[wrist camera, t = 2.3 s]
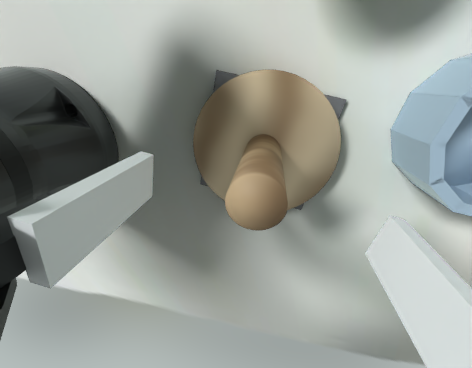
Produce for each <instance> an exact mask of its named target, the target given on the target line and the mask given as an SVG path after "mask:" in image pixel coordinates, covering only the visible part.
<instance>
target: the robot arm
mask: <svg viewBox="0 0 472 368" xmlns="http://www.w3.org/2000/svg"><path fill="white" fill-rule="evenodd" d="M153 160H154V155H153V154H150V153H146V152H142V151H140V152H138V153H136V154H134V155H132V156H130V157H128V158H126V159H124V160H122V161H120V162H118V150H117V144H116V140H115V137H114V134H113V131H112V128H111V126H110V124H109V122H108V120H107V118H106V117H105V115H104V113H103V112H102V110H101V109H100V108H99V106H98V105H97V104H96V102H95V101H94V100H93V99H92V98H91V97H90V96H89V95H88V94H87V93H86V92H85V91H84V90H83V89H82V88H81V87H80V86H78V85H77V84H76V83H74V82H73V81H71V80H70V79H68V78H67V77H65V76H63V75H61V74H59V73H56V72H54V71H51V70H47V69H43V68H33V67H17V66H13V67H3V68H0V340H1V336H2V333H3V329H4V326H5V323H6V320H7V316H8V313H9V310H10V307H11V303H12V300H13V297H14V293H15V290H16V286H17V280H16V277H17V276H18V275H20V274H21V273H22V272H24V271H25V270H26V272H27V275H28V278H29V281H30V282H31V283H34V284H38V285H41V286H44V287H48V288H52V287H53V286H54V285H55V284H56V283H57V282H58V281H59V280H61V279H62V278H63V277H64V276H65V275H66V274H67V273H68V272H69V271H70V270H72V269H73V268H74V267H75V266H76V265H77V264H78V263H79V262H80V261H82V260H83V259H84V258H85V257H86V256H87V255H88V254H89V253H90V252H91V251H93V250H94V249H95V248H96V247H97V246H98V245H99V244H100V243H101V242H102V241H104V240H105V239H106V238H107V237H108V236H109V235H110V234H111V233H112V232H114V231H115V230H116V229H117V228H118V227H119V226H120V225H121V224H122V223H123V222H125V221H126V220H127V219H128V218H129V217H130V216H131V215H132V214H133V213H135V212H136V211H137V210H138V209H139V208H140V207H141V206H142V205H143V204H144V203H146V202H147V201H148V200H149V199H150V198H151V197H152V196H153ZM365 255H366V256H367V258H368V260H369V262H370V264H371V266H372V268H373V269H374V271H375V273H376V275H377V277H378V279H379V281H380V282H381V284H382V286H383V288H384V290H385V292H386V294H387V295H388V297H389V299H390V301H391V303H392V305H393V307H394V308H395V310H396V312H397V314H398V316H399V318H400V320H401V321H402V323H403V325H404V327H405V329H406V331H407V332H408V334H409V336H410V338H411V340H412V342H413V344H414V345H415V347H416V349H417V351H418V353H419V355H420V357H421V358H422V360H423V362H424V364H425V366H426V368H472V288H471V287H470V286H469V285H468V284H467V283H466V282H465V281H464V280H463V279H462V278H461V276H460V275H459V274H458V273H457V272H456V271H455V270H454V269H453V268H452V267H451V266H450V265H449V264H448V263H447V262H446V261H445V260H444V259H443V258H442V257H441V256H440V255H439V254H438V253H437V252H436V251H435V250H434V249H433V248H432V247H431V246H430V245H429V244H428V243H427V242H426V241H425V240H424V239H423V238H422V236H421V235H420V234H419V233H418V232H417V231H416V230H415V229H414V228H413V227H412V226H411V225H410V224H409V223H408V222H407V221H406V220H405V219H402V218H398V217H394V216H389V217H388V219H387V220H386V222H385V223H384V225H383V227H382V228H381V230H380V231H379V233H378V234H377V236H376V237H375V239H374V240H373V242H372V243H371V245H370V247H369V248H368V250H367V251H366V253H365Z"/></svg>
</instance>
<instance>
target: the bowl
mask: <svg viewBox="0 0 472 368" xmlns="http://www.w3.org/2000/svg"><path fill="white" fill-rule="evenodd" d="M391 146H392V162H393V163H394V164H395V165H396V166H397V167H398V168H399V169H400V170H401V172H402V173H403V174H404V175H405V176H406V177H407V178H408V179H409V180H410V181H411V183H413V184H414V185H415V186H417V187H418V188H420V189H421V190H423V191H424V192H425V193H427V194H428V195H430V196H431V197H432V198H434V199H435V200H437V201H438V202H439V203H441V204H442V205H444V206H445V207H447V208H448V209H449V210H451V211H452V212H456V213H460V214H464V215H468V216H472V54H469V55H466V56H463V57H459V58H456V59H453V60H450V61H449V62H448V63H447V64H445V65H444V66H443V67H442V68H440V69H439V70H438V71H437V72H435V73H434V74H433V75H432V76H431V77H429V78H428V79H427V80H426V81H424V82H423V83H422V84H421V85H419V86H418V87H417V88H416V89H415V90H413V91H412V92H411V93H410V95H409V96H408V98H407V100H406V102H405V104H404V106H403V108H402V109H401V111H400V113H399V115H398V117H397V119H396V121H395V123H394V124H393V126H392V128H391Z"/></svg>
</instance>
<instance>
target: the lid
mask: <svg viewBox="0 0 472 368" xmlns="http://www.w3.org/2000/svg"><path fill="white" fill-rule="evenodd" d="M193 147H194V155H195V160H196V163H197V166H198V169H199V171H200V173H201V175H202V177H203V179H204V180H205V182H206V183H207V185H208V186H209V187H210V188H211V190H212V191H213V192H214V193H216V194H217V195H218V196H219V197H220V198H222V199H223V200H224V201H225V206H226V210H227V212H228V214H229V216H230V217H231V218H232V220H233V221H234V222H236V223H237V224H238V225H240V226H242V227H244V228H247V229H251V230H265V229H269V228H272V227H274V226H275V225H277V224H278V223H280V222H281V221H282V219H283V218H284V217H285V215H286V212H287V210H289V209H292V208H295V207H297V206H299V205H301V204H303V203H305V202H306V201H308V200H309V199H311V198H312V197H313V196H315V195H316V194H317V193H318V192H319V191H320V190H321V189H322V188H323V187H324V186H325V184H326V183H327V182H328V180H329V179H330V177H331V175H332V173H333V172H334V170H335V167H336V164H337V162H338V158H339V154H340V147H341V133H340V127H339V122H338V119H337V116H336V114H335V111H334V109H333V107H332V106H331V104H330V102H329V101H328V99H327V98H326V97H325V96H324V94H323V93H322V92H321V91H320V90H319V89H318V88H317V87H315V86H314V85H313V84H311V83H310V82H308V81H307V80H306V79H303V78H301V77H299V76H297V75H295V74H292V73H288V72H285V71H278V70H258V71H252V72H248V73H245V74H242V75H239V76H237V77H235V78H233V79H231V80H229V81H228V82H226V83H225V84H223V85H222V86H221V87H219V88H218V89H217V90H216V91H215V92H214V93H213V94H212V95H211V96H210V98H209V99H208V100H207V101H206V103H205V105H204V106H203V108H202V110H201V112H200V114H199V116H198V119H197V122H196V125H195V130H194V137H193Z"/></svg>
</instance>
